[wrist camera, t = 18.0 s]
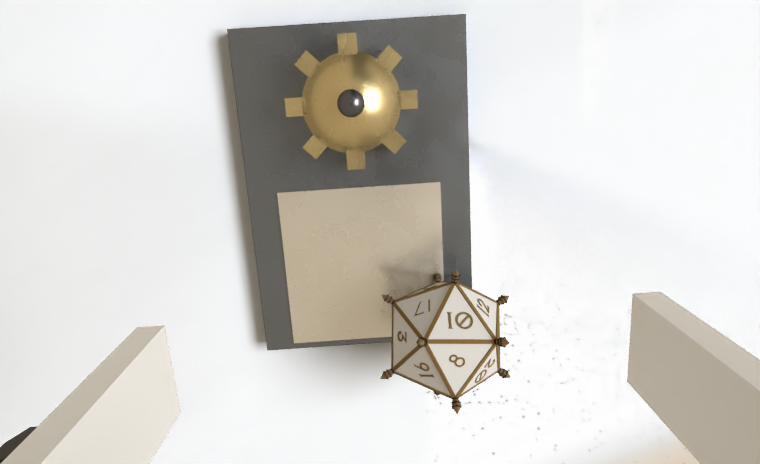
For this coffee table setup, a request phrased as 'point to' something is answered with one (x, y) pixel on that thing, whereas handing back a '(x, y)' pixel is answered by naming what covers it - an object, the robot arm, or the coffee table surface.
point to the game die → (446, 337)
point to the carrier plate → (353, 169)
